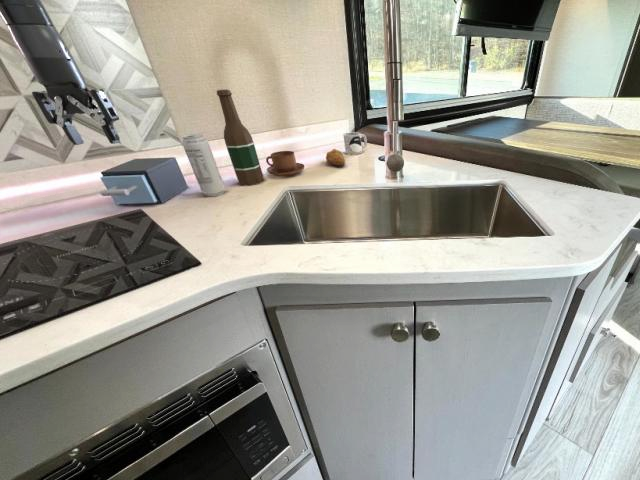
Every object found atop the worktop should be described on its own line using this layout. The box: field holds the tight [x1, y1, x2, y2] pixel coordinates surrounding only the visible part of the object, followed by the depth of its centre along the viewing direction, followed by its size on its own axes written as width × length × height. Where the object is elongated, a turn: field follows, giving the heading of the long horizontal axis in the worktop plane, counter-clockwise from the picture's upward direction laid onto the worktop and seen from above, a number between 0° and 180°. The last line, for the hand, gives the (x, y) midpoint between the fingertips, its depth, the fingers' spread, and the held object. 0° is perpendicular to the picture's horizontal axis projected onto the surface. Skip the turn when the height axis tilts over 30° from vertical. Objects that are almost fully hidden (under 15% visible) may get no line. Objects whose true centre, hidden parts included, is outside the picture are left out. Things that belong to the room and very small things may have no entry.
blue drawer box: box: [100, 156, 189, 206], centre depth 88 cm, size 14×12×9 cm
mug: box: [342, 131, 368, 155], centre depth 125 cm, size 10×7×7 cm, turn 131°
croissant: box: [325, 148, 346, 168], centre depth 111 cm, size 14×7×5 cm, turn 28°
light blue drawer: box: [99, 174, 157, 205], centre depth 84 cm, size 17×10×7 cm, turn 1°
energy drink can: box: [181, 133, 226, 197], centre depth 86 cm, size 6×6×15 cm
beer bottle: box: [216, 89, 265, 186], centre depth 91 cm, size 8×8×24 cm
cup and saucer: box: [265, 150, 305, 177], centre depth 103 cm, size 12×12×6 cm
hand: (97, 143), depth 73 cm, fingers open, 8 cm apart
